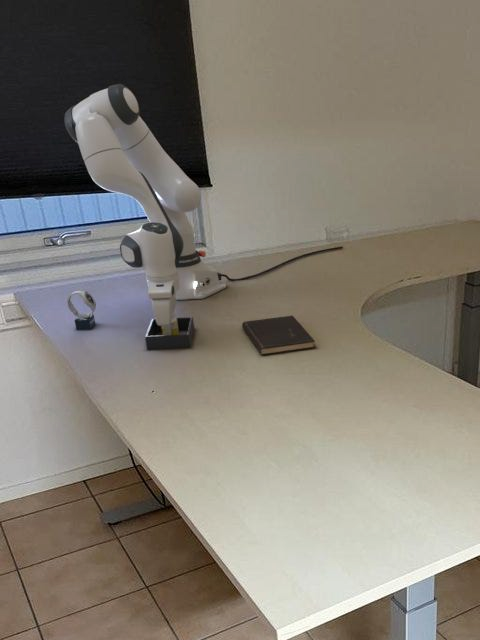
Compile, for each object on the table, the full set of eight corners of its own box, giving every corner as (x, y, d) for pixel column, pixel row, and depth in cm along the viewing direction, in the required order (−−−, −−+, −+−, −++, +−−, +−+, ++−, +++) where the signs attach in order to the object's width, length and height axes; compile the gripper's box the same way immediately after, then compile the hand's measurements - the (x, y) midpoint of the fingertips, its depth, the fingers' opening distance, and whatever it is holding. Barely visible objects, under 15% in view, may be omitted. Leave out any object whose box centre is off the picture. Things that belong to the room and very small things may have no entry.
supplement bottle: (164, 336, 223) (160, 309, 218) (180, 336, 223) (176, 309, 219) (162, 342, 219) (158, 315, 214) (178, 342, 219) (174, 314, 214)
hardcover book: (293, 322, 232) (292, 315, 231) (315, 348, 214) (314, 340, 213) (242, 329, 228) (241, 321, 227) (260, 356, 209) (260, 348, 208)
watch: (97, 329, 228) (90, 294, 223) (70, 330, 228) (63, 294, 222) (101, 323, 233) (95, 288, 227) (75, 323, 233) (68, 289, 227)
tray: (153, 331, 227) (151, 318, 225) (194, 329, 228) (192, 317, 226) (147, 350, 214) (145, 336, 212) (190, 348, 215) (188, 334, 213)
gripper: (156, 273, 220) (163, 318, 228) (147, 294, 203) (154, 342, 210) (177, 272, 221) (183, 317, 228) (170, 293, 204) (177, 341, 211)
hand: (169, 330), depth 219 cm, fingers open, 6 cm apart
